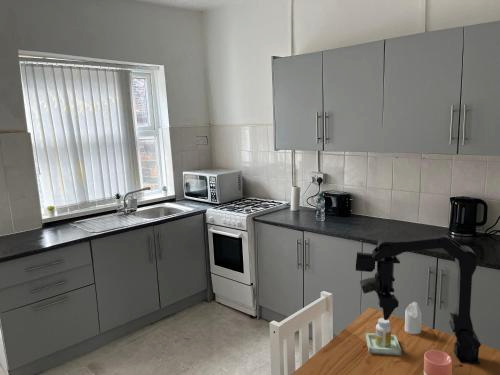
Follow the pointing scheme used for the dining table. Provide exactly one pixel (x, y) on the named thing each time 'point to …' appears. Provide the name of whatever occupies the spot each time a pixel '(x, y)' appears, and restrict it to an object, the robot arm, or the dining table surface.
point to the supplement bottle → (383, 333)
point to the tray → (392, 350)
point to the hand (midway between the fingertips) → (383, 313)
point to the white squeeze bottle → (413, 319)
